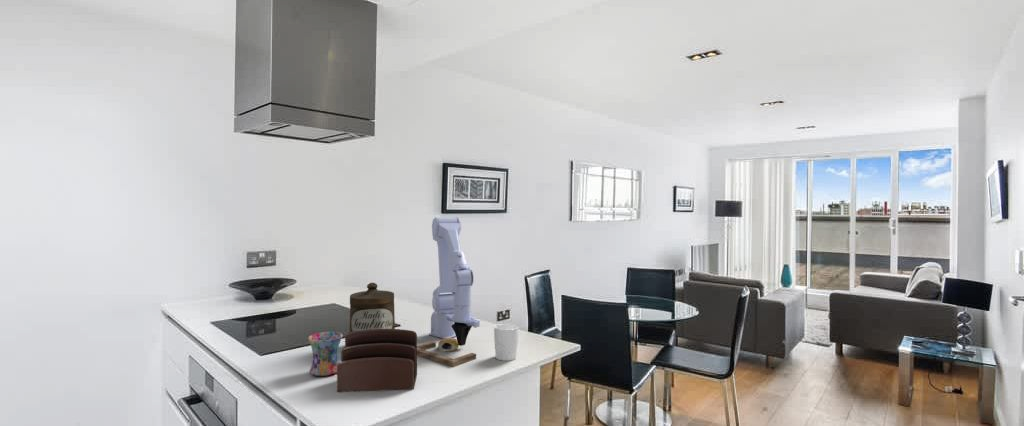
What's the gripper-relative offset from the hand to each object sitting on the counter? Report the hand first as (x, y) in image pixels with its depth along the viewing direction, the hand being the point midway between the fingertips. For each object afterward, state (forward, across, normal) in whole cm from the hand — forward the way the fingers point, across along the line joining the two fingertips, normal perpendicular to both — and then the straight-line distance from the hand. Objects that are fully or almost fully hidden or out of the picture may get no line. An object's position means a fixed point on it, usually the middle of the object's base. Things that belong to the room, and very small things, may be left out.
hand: (461, 344), depth 159 cm
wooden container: (+2, +25, +18) cm, 31 cm away
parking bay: (+1, 0, +9) cm, 9 cm away
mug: (+2, +15, +40) cm, 43 cm away
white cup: (+2, -17, -3) cm, 17 cm away
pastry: (+2, +4, +2) cm, 5 cm away
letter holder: (+2, -4, +36) cm, 37 cm away
